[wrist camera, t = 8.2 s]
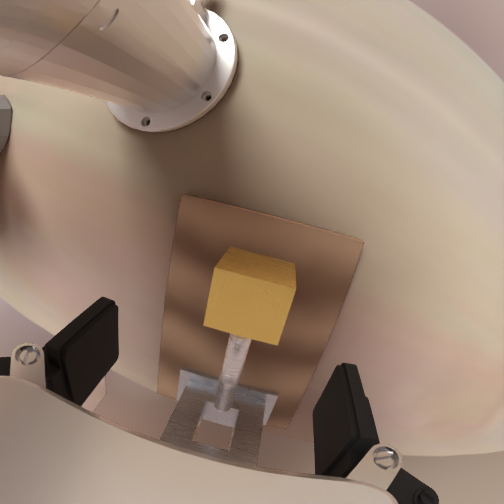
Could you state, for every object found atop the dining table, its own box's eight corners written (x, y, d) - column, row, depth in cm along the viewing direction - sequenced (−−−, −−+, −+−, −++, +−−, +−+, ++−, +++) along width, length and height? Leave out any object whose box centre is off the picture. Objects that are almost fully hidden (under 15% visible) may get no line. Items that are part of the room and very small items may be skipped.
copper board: (185, 194, 24) (181, 195, 23) (361, 239, 23) (363, 242, 22) (160, 388, 30) (157, 393, 29) (286, 422, 29) (286, 428, 28)
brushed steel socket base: (182, 365, 28) (145, 433, 18) (278, 392, 27) (271, 468, 18) (178, 397, 29) (146, 461, 20) (265, 421, 28) (255, 492, 19)
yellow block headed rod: (230, 246, 21) (214, 267, 17) (294, 263, 21) (296, 288, 17) (201, 385, 25) (187, 420, 21) (251, 398, 25) (243, 436, 21)
